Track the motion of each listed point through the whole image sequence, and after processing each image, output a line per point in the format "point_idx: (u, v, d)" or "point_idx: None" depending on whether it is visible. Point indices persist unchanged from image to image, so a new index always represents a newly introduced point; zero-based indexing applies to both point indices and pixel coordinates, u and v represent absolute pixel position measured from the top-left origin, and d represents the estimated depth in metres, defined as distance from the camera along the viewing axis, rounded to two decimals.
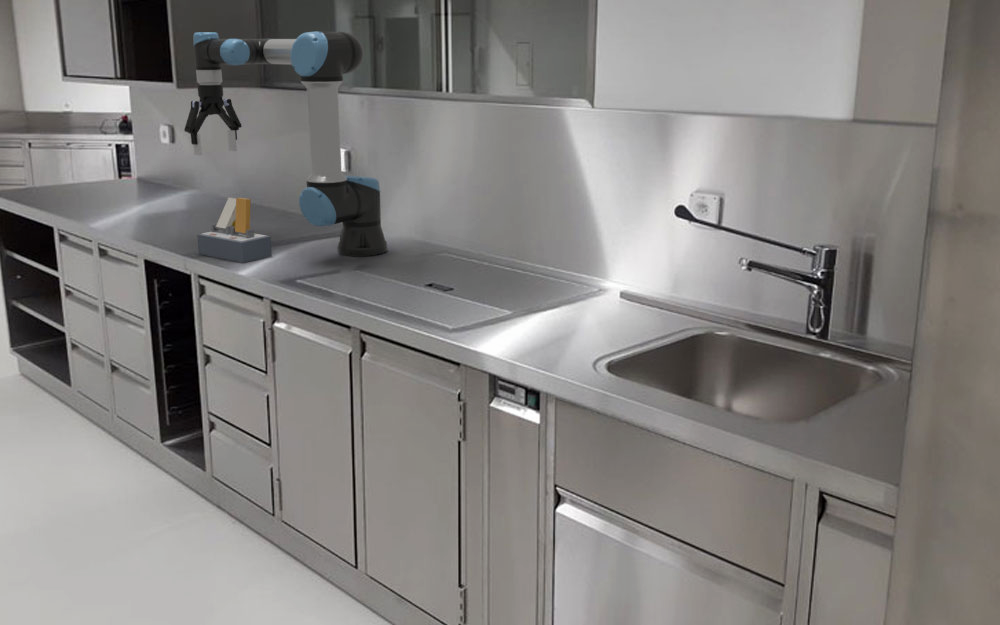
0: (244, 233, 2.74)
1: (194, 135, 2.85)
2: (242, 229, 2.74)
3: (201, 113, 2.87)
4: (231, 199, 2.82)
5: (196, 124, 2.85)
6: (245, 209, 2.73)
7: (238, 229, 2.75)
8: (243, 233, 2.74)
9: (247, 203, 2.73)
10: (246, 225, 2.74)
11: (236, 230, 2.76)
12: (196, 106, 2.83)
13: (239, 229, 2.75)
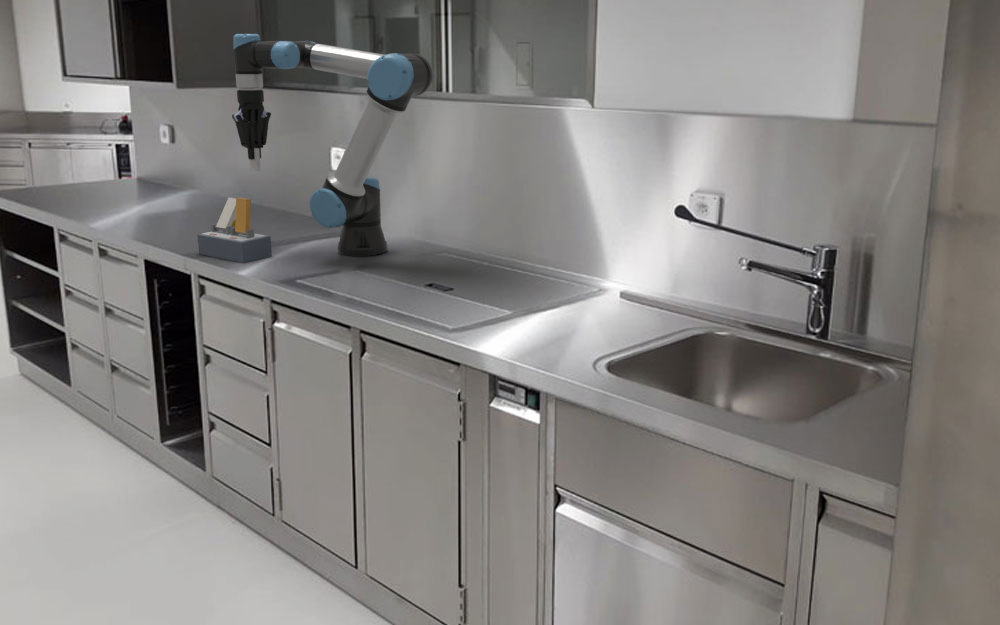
0: (244, 233, 2.74)
1: (251, 150, 2.73)
2: (242, 229, 2.74)
3: (247, 124, 2.71)
4: (231, 199, 2.82)
5: (249, 138, 2.72)
6: (245, 209, 2.73)
7: (238, 229, 2.75)
8: (243, 233, 2.74)
9: (247, 203, 2.73)
10: (246, 225, 2.74)
11: (236, 230, 2.76)
12: (240, 120, 2.67)
13: (239, 229, 2.75)
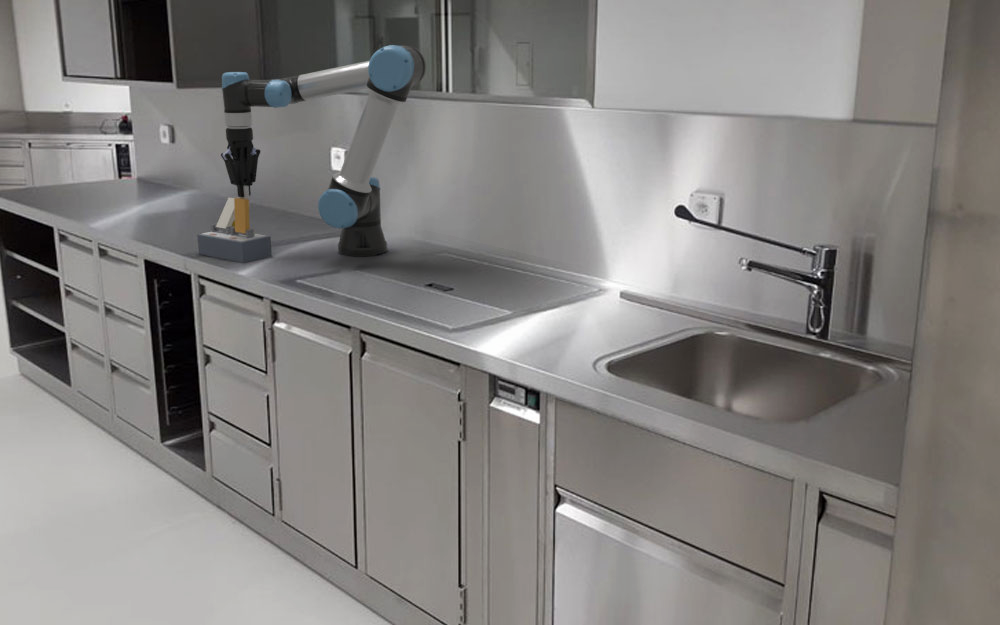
0: (244, 233, 2.74)
1: (241, 187, 2.72)
2: (241, 229, 2.74)
3: (236, 162, 2.70)
4: (231, 199, 2.82)
5: (238, 176, 2.71)
6: (244, 210, 2.72)
7: (238, 229, 2.75)
8: (243, 233, 2.74)
9: (245, 203, 2.72)
10: (245, 225, 2.73)
11: (236, 230, 2.76)
12: (229, 159, 2.66)
13: (239, 229, 2.75)
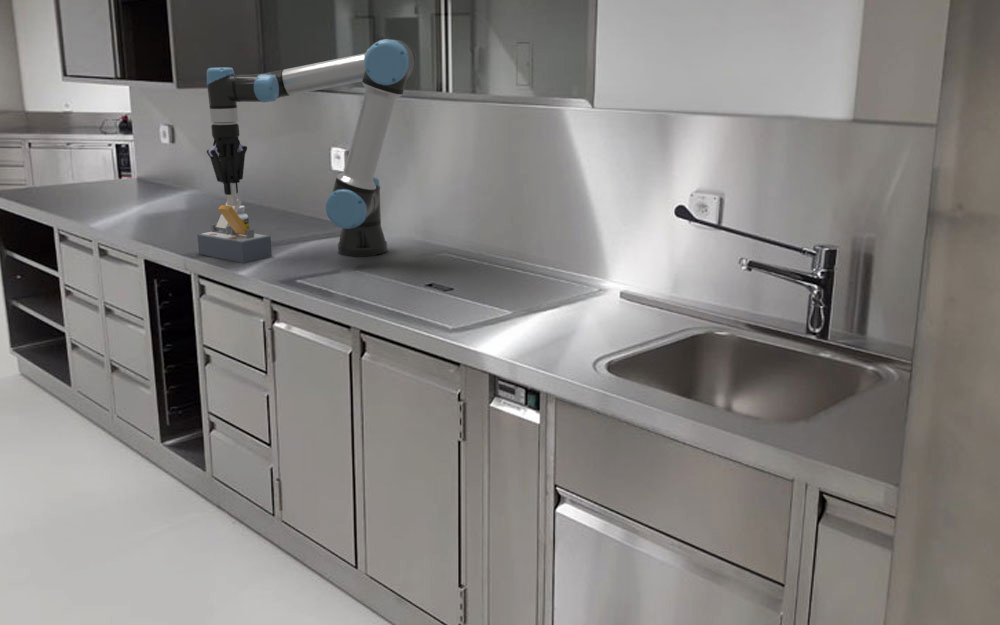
0: (245, 234, 2.74)
1: (227, 185, 2.67)
2: (240, 231, 2.74)
3: (222, 159, 2.65)
4: None
5: (225, 173, 2.66)
6: (233, 217, 2.69)
7: (237, 231, 2.75)
8: (244, 234, 2.75)
9: (231, 212, 2.68)
10: (242, 228, 2.73)
11: (236, 232, 2.76)
12: (215, 155, 2.61)
13: (238, 232, 2.75)
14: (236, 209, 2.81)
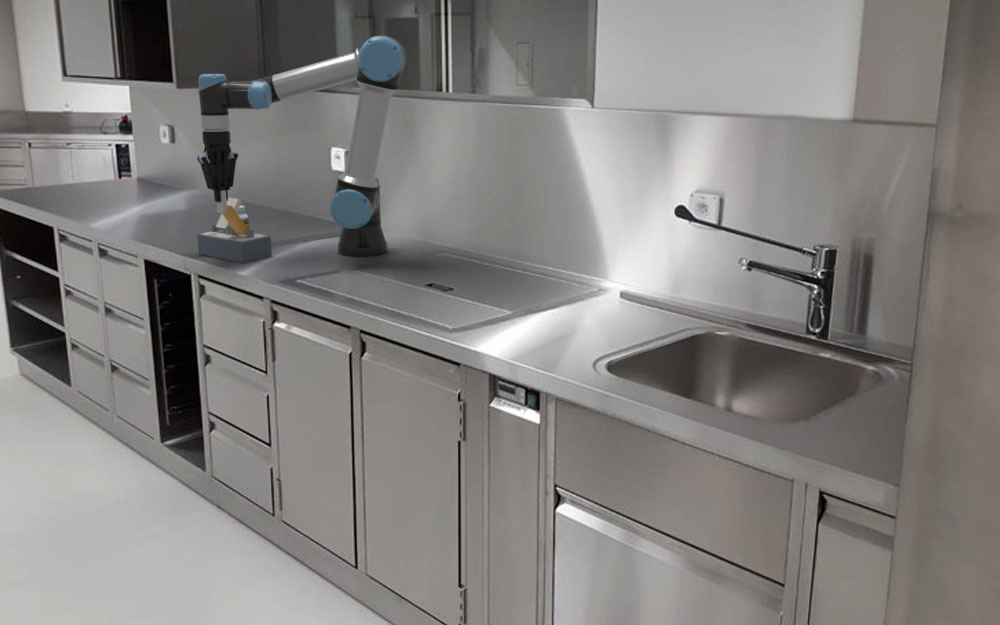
0: (245, 234, 2.74)
1: (218, 192, 2.65)
2: (240, 231, 2.74)
3: (213, 166, 2.63)
4: (231, 199, 2.82)
5: (215, 180, 2.64)
6: (233, 217, 2.70)
7: (237, 231, 2.75)
8: (244, 234, 2.75)
9: (231, 212, 2.68)
10: (242, 228, 2.73)
11: (236, 232, 2.76)
12: (205, 162, 2.59)
13: (238, 231, 2.75)
14: (236, 209, 2.81)
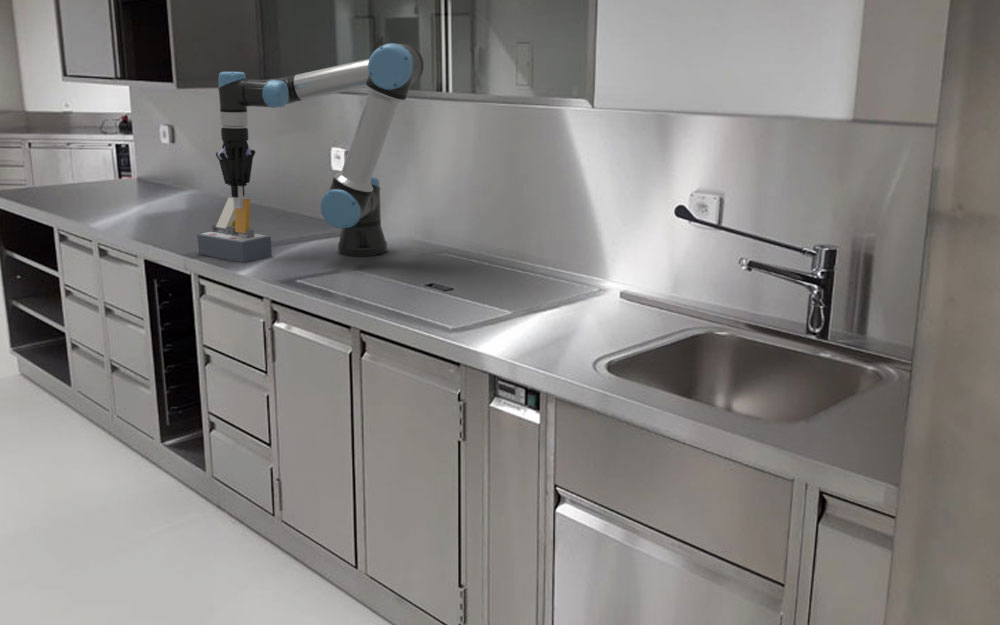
0: (244, 233, 2.74)
1: (235, 188, 2.70)
2: (242, 229, 2.74)
3: (230, 162, 2.68)
4: (231, 199, 2.82)
5: (233, 176, 2.69)
6: (245, 209, 2.73)
7: (238, 229, 2.75)
8: (243, 233, 2.74)
9: (247, 203, 2.73)
10: (246, 225, 2.74)
11: (236, 230, 2.76)
12: (223, 158, 2.64)
13: (239, 229, 2.75)
14: None
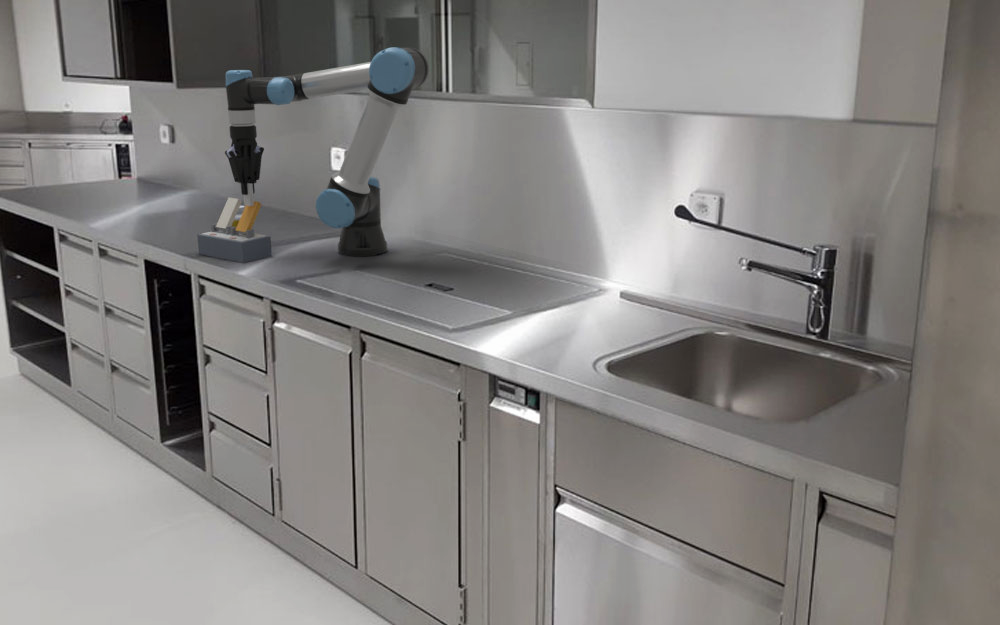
0: (244, 232, 2.74)
1: (244, 185, 2.73)
2: (243, 228, 2.75)
3: (240, 159, 2.71)
4: (231, 199, 2.82)
5: (242, 174, 2.71)
6: (253, 210, 2.75)
7: (239, 228, 2.76)
8: (243, 232, 2.74)
9: (257, 206, 2.76)
10: (249, 225, 2.74)
11: (237, 229, 2.76)
12: (233, 156, 2.67)
13: (240, 228, 2.75)
14: (236, 209, 2.81)
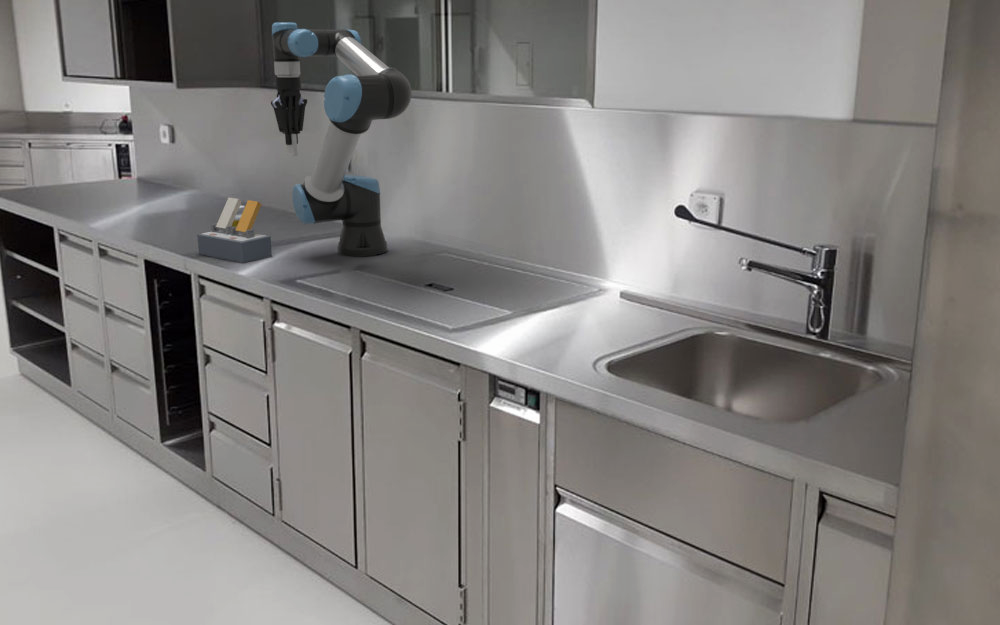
0: (244, 232, 2.74)
1: (289, 135, 2.81)
2: (243, 228, 2.75)
3: (284, 110, 2.79)
4: (231, 199, 2.82)
5: (286, 124, 2.80)
6: (253, 210, 2.75)
7: (239, 228, 2.76)
8: (243, 232, 2.74)
9: (257, 206, 2.76)
10: (249, 225, 2.74)
11: (237, 229, 2.76)
12: (278, 106, 2.75)
13: (240, 228, 2.75)
14: (236, 209, 2.81)
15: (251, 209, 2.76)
